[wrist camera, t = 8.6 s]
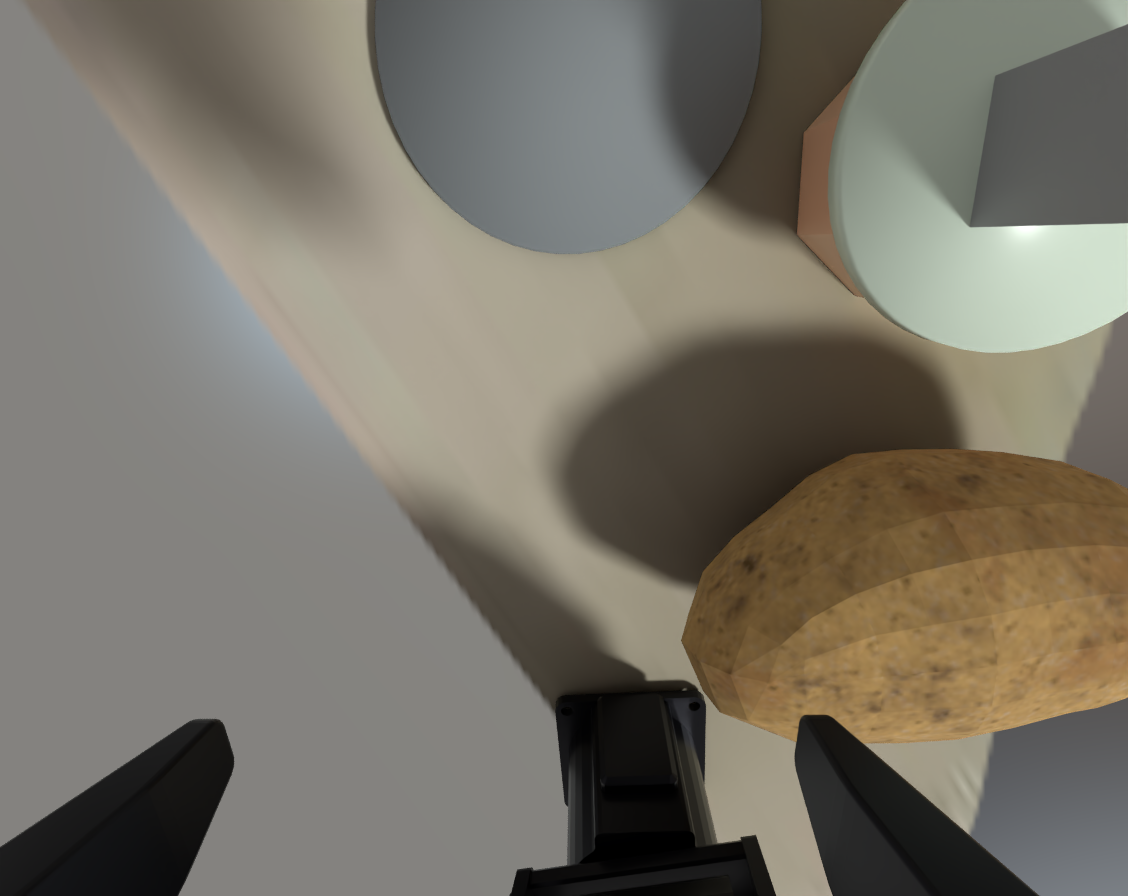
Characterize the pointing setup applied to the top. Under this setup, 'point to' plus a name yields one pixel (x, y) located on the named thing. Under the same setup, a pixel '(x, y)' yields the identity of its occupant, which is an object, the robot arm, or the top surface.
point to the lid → (988, 171)
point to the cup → (821, 190)
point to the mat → (567, 108)
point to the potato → (920, 598)
